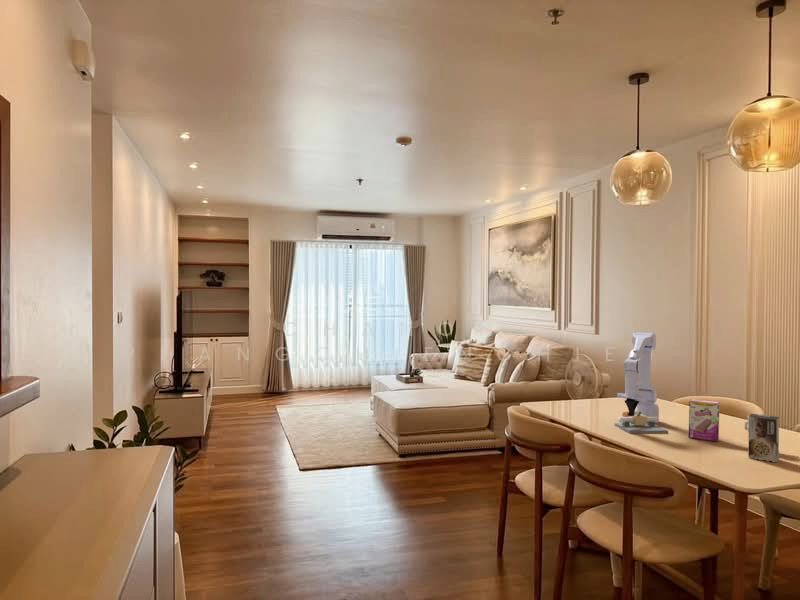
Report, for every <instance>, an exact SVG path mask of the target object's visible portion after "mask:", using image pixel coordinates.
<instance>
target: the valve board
mask: <svg viewBox="0 0 800 600" xmlns="http://www.w3.org/2000/svg"><path fill="white" fill-rule="evenodd" d="M617 419H618V422H614V426H615V427H616V426H617V428H618V427H619V428H618V429H620V428H621V429H620V430H622V429H623V430H622V431H624V432H626V433H627V434H669V430H668V429H666V428H663V427H660V425H657V424H656V423H660V422H659V421H660V418H658V417H647V416H644V415H642V414H637V415H634V416H632V417H623V416H619V417H618V418H617Z"/></svg>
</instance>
